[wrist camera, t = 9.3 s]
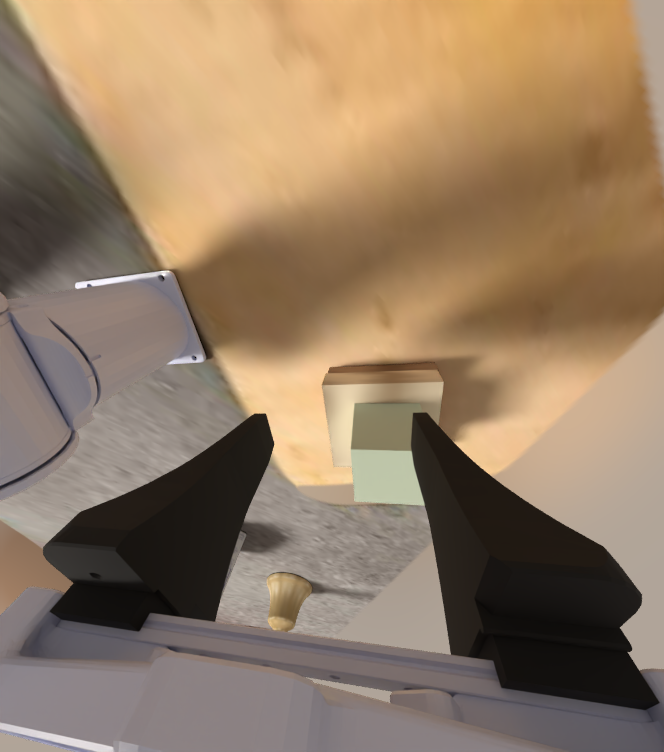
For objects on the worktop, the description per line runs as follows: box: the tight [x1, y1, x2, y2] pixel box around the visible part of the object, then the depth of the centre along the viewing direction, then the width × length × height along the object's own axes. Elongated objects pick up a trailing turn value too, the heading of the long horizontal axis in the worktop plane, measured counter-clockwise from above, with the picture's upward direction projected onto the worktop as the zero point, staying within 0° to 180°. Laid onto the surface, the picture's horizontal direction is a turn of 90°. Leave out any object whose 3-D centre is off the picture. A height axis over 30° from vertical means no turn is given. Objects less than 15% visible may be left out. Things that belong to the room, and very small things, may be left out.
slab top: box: [322, 370, 444, 467], centre depth 21 cm, size 9×9×2 cm
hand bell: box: [267, 573, 312, 632], centre depth 37 cm, size 8×8×16 cm
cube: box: [351, 403, 425, 505], centre depth 18 cm, size 5×5×5 cm
